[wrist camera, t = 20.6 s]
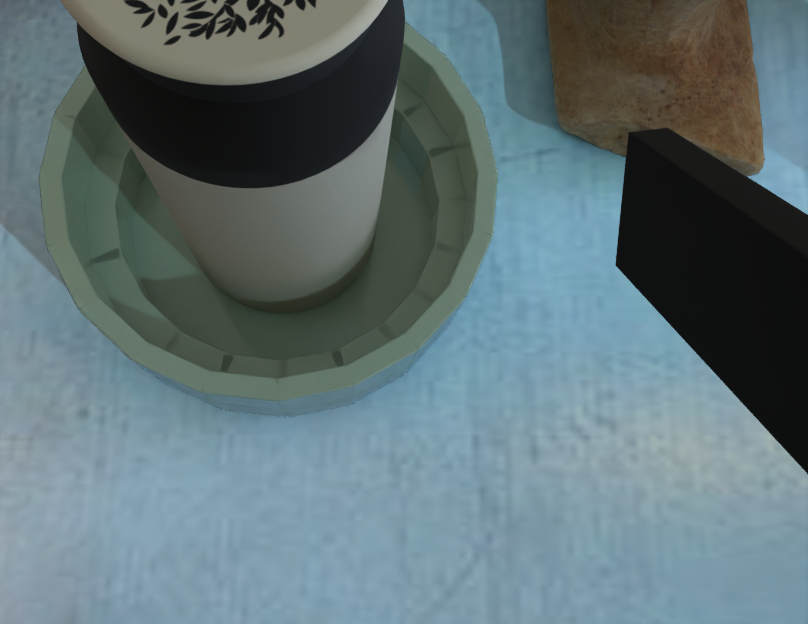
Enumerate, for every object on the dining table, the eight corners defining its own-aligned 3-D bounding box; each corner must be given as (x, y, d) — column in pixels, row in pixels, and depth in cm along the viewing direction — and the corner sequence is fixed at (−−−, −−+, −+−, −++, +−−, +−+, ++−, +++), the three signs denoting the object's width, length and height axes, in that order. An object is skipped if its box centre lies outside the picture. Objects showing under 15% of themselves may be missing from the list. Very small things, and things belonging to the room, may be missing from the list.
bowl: (357, 13, 37) (361, -79, 31) (537, 301, 34) (579, 260, 28) (30, 159, 33) (-35, 87, 28) (199, 492, 30) (167, 489, 25)
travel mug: (413, 231, 33) (496, -67, 16) (277, 352, 31) (202, 166, 14) (291, 109, 34) (243, -299, 17) (152, 220, 32) (-64, -111, 15)
